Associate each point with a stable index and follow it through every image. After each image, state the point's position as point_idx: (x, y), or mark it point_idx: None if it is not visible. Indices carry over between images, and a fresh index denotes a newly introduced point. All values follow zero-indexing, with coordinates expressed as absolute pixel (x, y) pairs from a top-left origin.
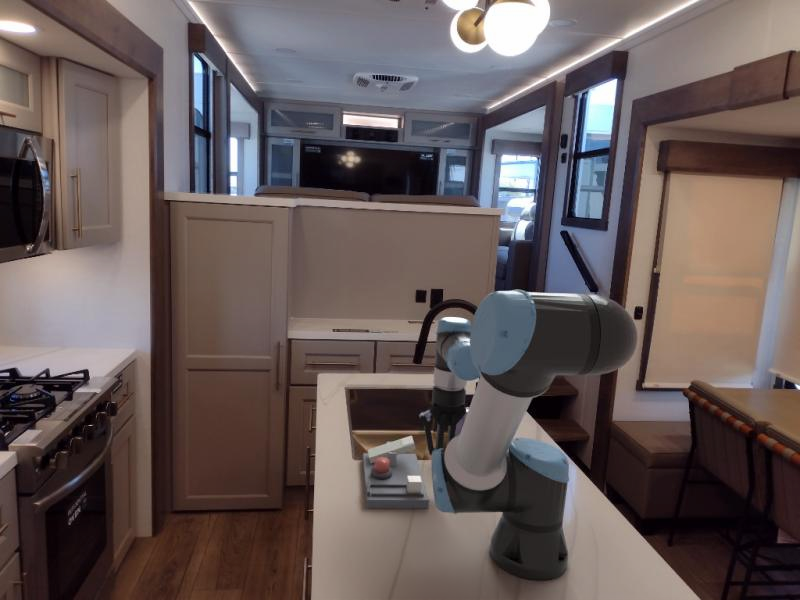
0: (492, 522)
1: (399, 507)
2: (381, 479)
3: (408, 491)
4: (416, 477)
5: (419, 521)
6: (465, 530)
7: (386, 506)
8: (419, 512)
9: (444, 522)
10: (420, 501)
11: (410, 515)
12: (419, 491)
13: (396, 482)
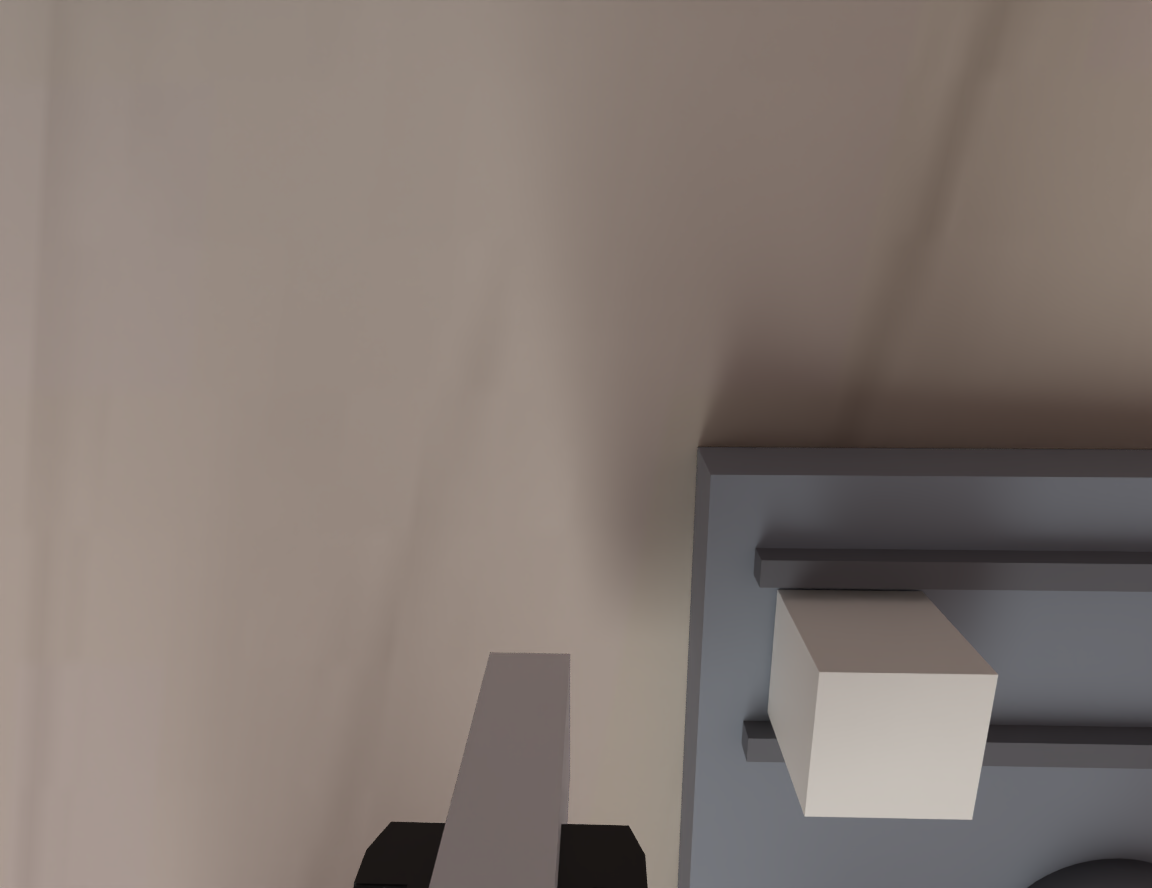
0: (76, 186)
1: (994, 451)
2: (1128, 861)
3: (933, 605)
4: (861, 780)
5: (840, 201)
6: (376, 20)
7: (1137, 453)
8: (802, 374)
9: (578, 183)
10: (802, 468)
11: (908, 317)
12: (804, 605)
13: (983, 810)
